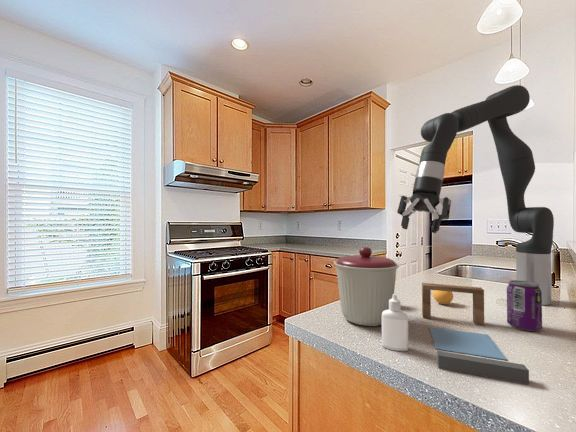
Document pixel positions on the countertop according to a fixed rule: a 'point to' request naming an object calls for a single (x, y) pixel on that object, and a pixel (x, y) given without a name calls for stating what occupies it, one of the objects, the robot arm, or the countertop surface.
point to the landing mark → (465, 343)
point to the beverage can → (524, 305)
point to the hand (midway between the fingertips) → (418, 230)
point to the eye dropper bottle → (395, 327)
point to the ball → (443, 296)
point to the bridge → (477, 291)
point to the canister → (365, 286)
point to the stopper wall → (483, 367)
